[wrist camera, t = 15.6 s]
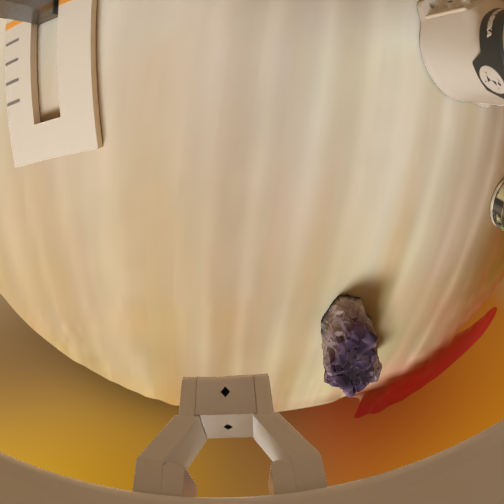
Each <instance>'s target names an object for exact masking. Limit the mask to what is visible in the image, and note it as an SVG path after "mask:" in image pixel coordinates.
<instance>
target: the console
mask: <svg viewBox="0 0 504 504" xmlns="http://www.w3.org/2000/svg"><path fill="white" fill-rule="evenodd" d="M58 6H59V9H58V26H57V76H58V94H59V107H60V117H58V118H55V119H52V120H48V121H45V122H42V123H41V122H40V112H39V101H38V85H37V27H38V24H33V23H28V22H23V21H17V20H11V19H7V24H6V42H5V87H6V103H7V115H8V124H9V133H10V140H11V147H12V153H13V159H14V164H15V168H16V167H20V166H23V165H27V164H31V163H35V162H39V161H43V160H47V159H51V158H56V157H60V156H65V155H69V154H74V153H79V152H84V151H89V150H95V149H99V148H101V147H103V143H102V135H101V126H100V116H99V105H98V91H97V73H96V10H97V0H59V3H58Z"/></svg>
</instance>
